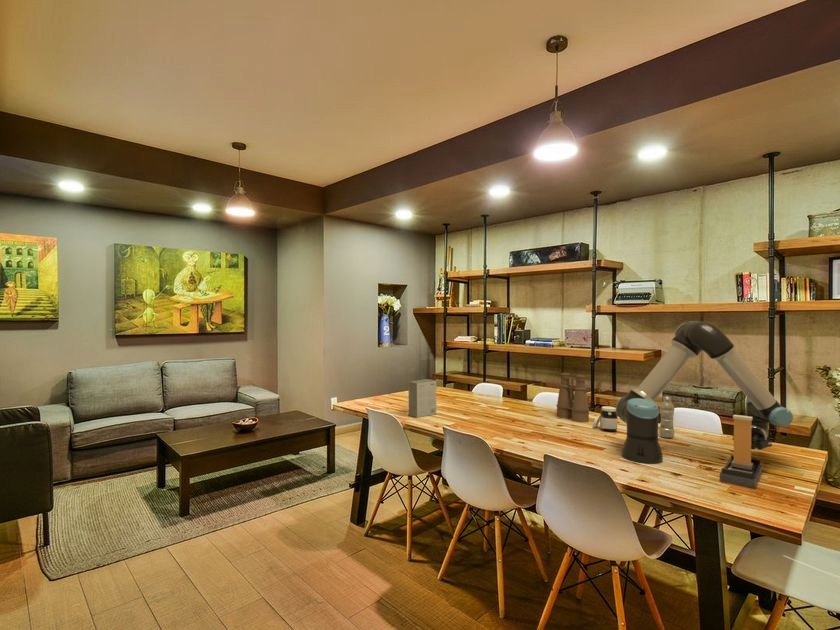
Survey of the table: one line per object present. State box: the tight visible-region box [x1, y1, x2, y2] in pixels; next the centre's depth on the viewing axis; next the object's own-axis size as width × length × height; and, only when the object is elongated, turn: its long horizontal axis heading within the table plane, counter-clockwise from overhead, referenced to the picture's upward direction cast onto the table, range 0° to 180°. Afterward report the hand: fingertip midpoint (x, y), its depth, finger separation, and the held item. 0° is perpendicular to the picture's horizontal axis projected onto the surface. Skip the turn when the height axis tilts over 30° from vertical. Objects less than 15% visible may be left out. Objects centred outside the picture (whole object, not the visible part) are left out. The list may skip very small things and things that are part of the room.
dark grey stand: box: [719, 454, 763, 490], centre depth 166 cm, size 22×10×5 cm, turn 138°
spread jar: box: [592, 405, 618, 433], centre depth 235 cm, size 12×11×12 cm
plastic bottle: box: [658, 395, 675, 439], centre depth 220 cm, size 6×7×20 cm
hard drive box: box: [408, 378, 437, 418], centre depth 264 cm, size 16×8×20 cm, turn 130°
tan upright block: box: [731, 414, 753, 470], centre depth 168 cm, size 5×6×18 cm
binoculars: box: [555, 372, 591, 423], centre depth 260 cm, size 21×10×25 cm, turn 31°
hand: (746, 448), depth 168 cm, fingers closed
